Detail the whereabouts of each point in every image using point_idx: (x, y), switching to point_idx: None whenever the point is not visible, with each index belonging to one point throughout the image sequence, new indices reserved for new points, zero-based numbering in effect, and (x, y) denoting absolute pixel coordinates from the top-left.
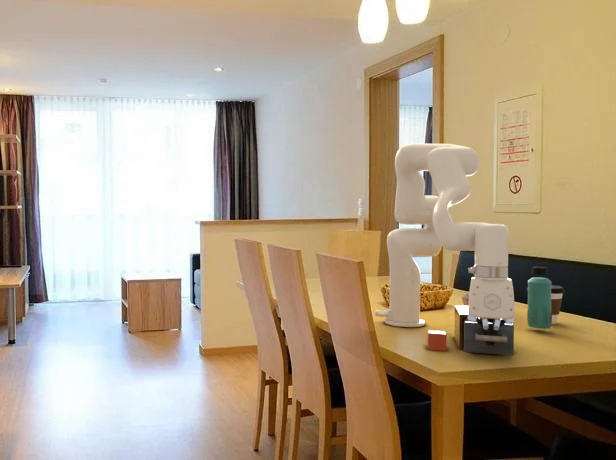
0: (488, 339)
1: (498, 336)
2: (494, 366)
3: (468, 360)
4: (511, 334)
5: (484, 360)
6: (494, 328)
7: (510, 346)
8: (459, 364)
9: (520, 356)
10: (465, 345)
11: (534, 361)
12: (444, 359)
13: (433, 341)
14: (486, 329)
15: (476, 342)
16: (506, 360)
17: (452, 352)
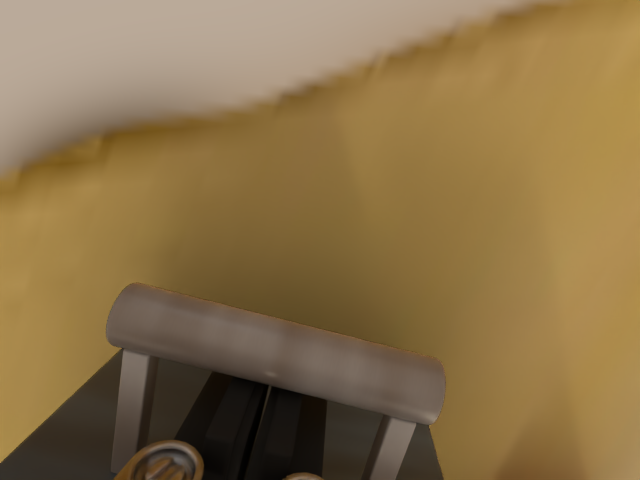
0: (319, 330)
1: (199, 344)
2: (334, 135)
3: (449, 283)
4: (29, 459)
5: (339, 287)
6: (192, 476)
7: (114, 380)
8: (570, 174)
9: None
10: (428, 448)
11: (35, 277)
12: (609, 301)
13: None
14: (304, 475)
15: (353, 452)
16: (197, 293)
17: (463, 459)
